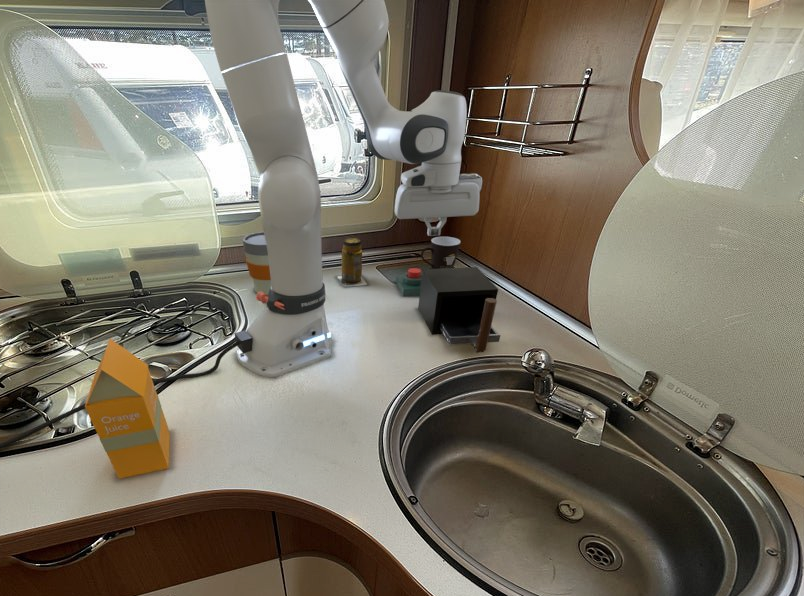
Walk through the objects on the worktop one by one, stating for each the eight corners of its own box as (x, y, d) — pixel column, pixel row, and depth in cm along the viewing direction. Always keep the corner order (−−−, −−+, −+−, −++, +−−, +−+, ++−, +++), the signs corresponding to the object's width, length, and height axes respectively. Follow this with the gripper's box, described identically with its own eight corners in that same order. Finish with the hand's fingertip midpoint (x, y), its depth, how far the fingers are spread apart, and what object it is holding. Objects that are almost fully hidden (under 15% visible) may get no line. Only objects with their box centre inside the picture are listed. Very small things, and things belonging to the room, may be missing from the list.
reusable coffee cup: (286, 299, 118) (281, 246, 110) (243, 297, 120) (235, 244, 111) (296, 282, 128) (292, 231, 120) (256, 280, 130) (250, 230, 121)
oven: (488, 332, 102) (498, 289, 95) (431, 335, 101) (437, 292, 95) (469, 306, 113) (476, 266, 107) (417, 309, 112) (422, 269, 106)
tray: (507, 353, 90) (520, 301, 83) (455, 356, 89) (465, 303, 82) (480, 319, 103) (490, 270, 96) (435, 321, 102) (441, 273, 95)
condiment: (359, 274, 133) (360, 236, 125) (367, 285, 126) (368, 244, 119) (337, 277, 131) (336, 238, 124) (343, 287, 125) (343, 247, 118)
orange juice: (117, 479, 66) (67, 374, 54) (124, 441, 73) (80, 341, 61) (170, 468, 68) (132, 364, 56) (171, 432, 75) (138, 333, 63)
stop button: (421, 279, 120) (422, 272, 119) (409, 279, 120) (409, 273, 118) (418, 274, 123) (419, 267, 121) (406, 274, 122) (407, 268, 121)
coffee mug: (453, 268, 136) (458, 236, 130) (457, 278, 129) (462, 245, 123) (417, 267, 137) (420, 236, 131) (418, 277, 130) (422, 245, 124)
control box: (430, 295, 119) (432, 281, 117) (402, 296, 119) (404, 283, 117) (422, 281, 127) (423, 268, 125) (395, 282, 127) (396, 269, 125)
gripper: (479, 170, 101) (469, 229, 109) (394, 174, 100) (391, 233, 109) (488, 175, 96) (478, 236, 104) (399, 179, 95) (396, 240, 104)
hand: (433, 235), depth 107 cm, fingers closed
